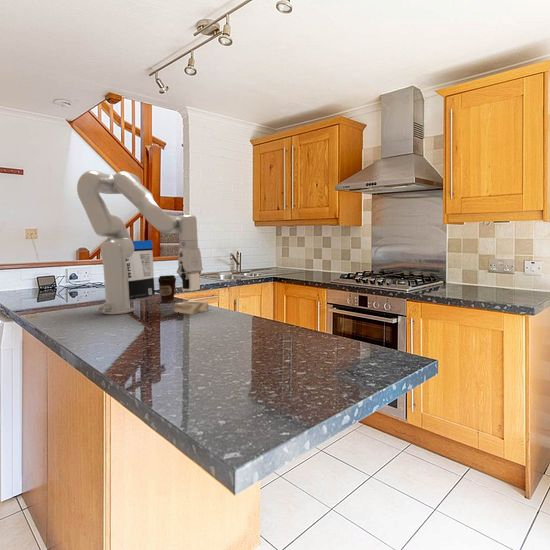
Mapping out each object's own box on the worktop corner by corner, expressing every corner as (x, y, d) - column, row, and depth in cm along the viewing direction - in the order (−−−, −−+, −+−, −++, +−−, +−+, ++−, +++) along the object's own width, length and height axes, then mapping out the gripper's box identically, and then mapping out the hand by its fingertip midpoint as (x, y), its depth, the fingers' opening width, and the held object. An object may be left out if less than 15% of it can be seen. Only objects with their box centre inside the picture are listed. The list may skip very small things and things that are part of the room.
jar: (191, 291, 171) (190, 272, 170) (182, 290, 174) (181, 272, 173) (200, 289, 176) (199, 271, 175) (190, 288, 179) (189, 270, 178)
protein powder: (160, 294, 229) (157, 240, 226) (123, 301, 208) (120, 241, 205) (148, 293, 234) (146, 240, 231) (111, 299, 213) (108, 241, 210)
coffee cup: (172, 303, 197) (170, 276, 196) (155, 303, 199) (154, 276, 198) (179, 300, 206) (178, 274, 204) (164, 300, 207) (163, 274, 206)
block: (191, 315, 169) (190, 305, 169) (174, 312, 175) (174, 303, 174) (208, 311, 177) (208, 301, 177) (192, 309, 183) (192, 300, 182)
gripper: (180, 245, 164) (183, 290, 166) (208, 243, 178) (211, 285, 180) (167, 245, 168) (169, 290, 170) (195, 244, 182) (197, 285, 184)
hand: (191, 287), depth 175 cm, fingers closed on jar, 5 cm apart
